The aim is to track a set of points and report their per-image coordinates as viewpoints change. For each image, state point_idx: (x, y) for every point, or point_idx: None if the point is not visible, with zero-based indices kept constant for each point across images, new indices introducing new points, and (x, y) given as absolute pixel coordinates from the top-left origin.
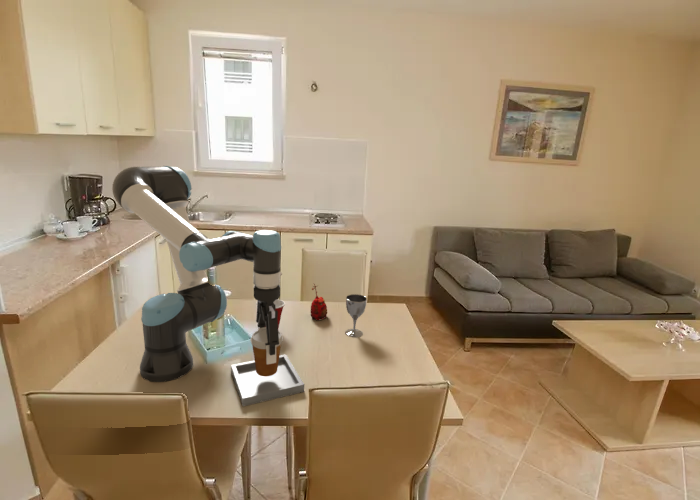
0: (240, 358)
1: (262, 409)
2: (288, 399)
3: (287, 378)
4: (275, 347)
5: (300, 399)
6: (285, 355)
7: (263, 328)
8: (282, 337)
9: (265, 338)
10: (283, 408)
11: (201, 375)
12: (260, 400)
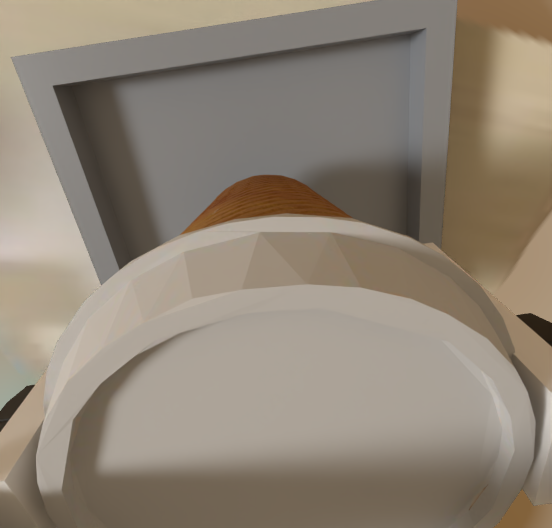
0: (26, 325)
1: (472, 253)
2: (458, 120)
3: (288, 95)
4: (542, 350)
5: (489, 46)
6: (30, 66)
7: (34, 522)
8: (295, 225)
9: (355, 492)
10: (513, 159)
11: None
12: None
